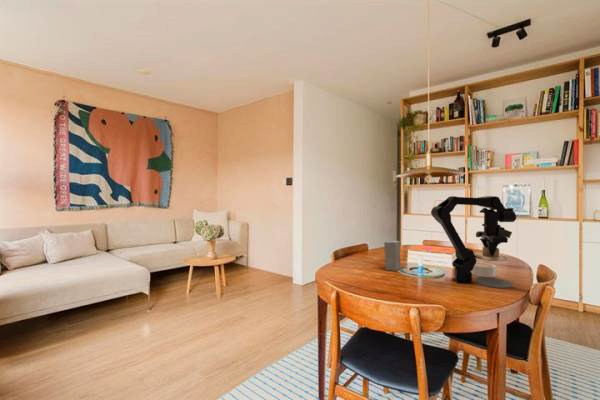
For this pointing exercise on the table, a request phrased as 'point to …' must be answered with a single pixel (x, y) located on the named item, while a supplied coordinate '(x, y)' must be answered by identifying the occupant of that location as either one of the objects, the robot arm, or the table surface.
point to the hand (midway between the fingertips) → (490, 254)
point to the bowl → (484, 270)
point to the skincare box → (392, 255)
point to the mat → (493, 282)
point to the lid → (488, 256)
